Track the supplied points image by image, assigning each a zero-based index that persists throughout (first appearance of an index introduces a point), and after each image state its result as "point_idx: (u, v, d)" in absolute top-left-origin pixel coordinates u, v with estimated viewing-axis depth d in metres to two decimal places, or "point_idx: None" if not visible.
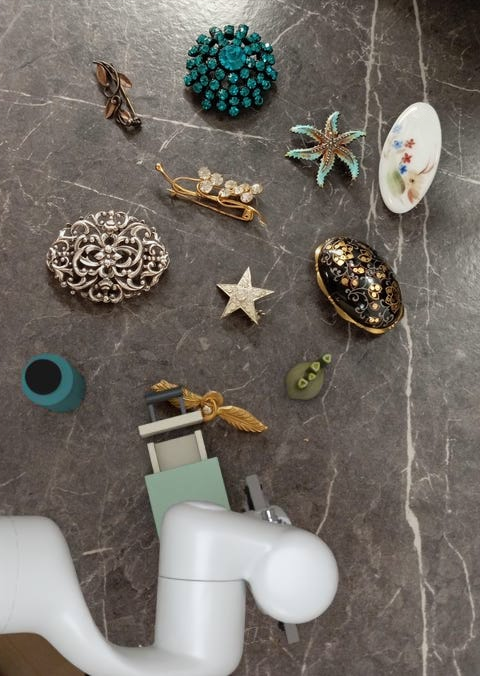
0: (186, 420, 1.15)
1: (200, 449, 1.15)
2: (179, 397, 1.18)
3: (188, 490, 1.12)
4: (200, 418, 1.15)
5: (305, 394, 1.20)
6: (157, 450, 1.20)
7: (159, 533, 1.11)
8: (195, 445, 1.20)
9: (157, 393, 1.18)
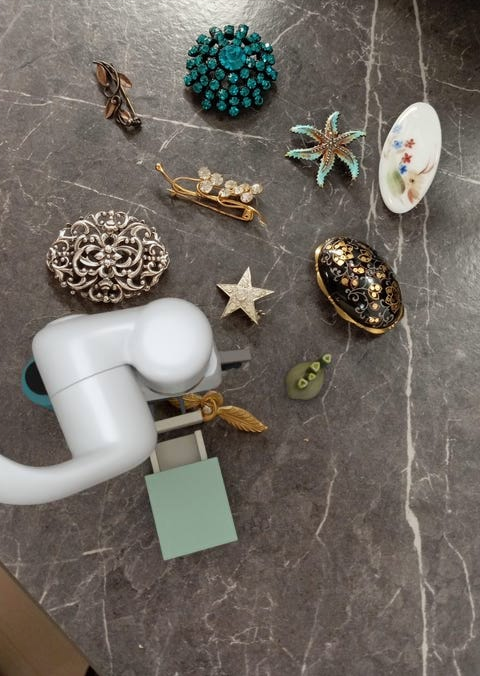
0: (186, 420, 1.15)
1: (200, 449, 1.15)
2: (179, 397, 1.18)
3: (188, 490, 1.12)
4: (200, 418, 1.15)
5: (305, 394, 1.20)
6: (157, 450, 1.20)
7: (159, 533, 1.11)
8: (195, 445, 1.20)
9: None
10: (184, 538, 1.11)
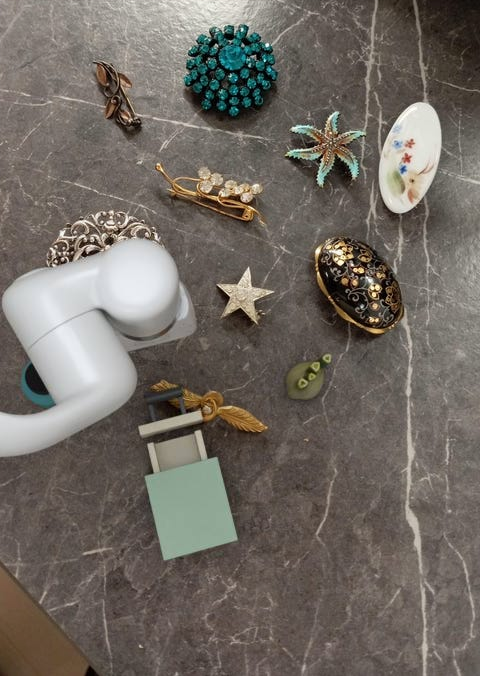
0: (186, 420, 1.15)
1: (200, 449, 1.15)
2: (179, 397, 1.18)
3: (188, 490, 1.12)
4: (200, 418, 1.15)
5: (305, 394, 1.20)
6: (157, 450, 1.20)
7: (159, 533, 1.11)
8: (195, 445, 1.20)
9: (157, 393, 1.18)
10: (184, 538, 1.11)
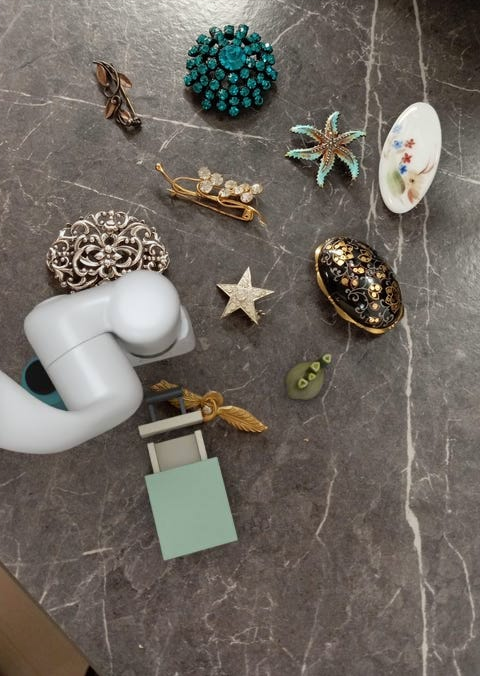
0: (186, 420, 1.15)
1: (200, 449, 1.15)
2: (179, 397, 1.18)
3: (188, 490, 1.12)
4: (200, 418, 1.15)
5: (305, 394, 1.20)
6: (157, 450, 1.20)
7: (159, 533, 1.11)
8: (195, 445, 1.20)
9: (157, 393, 1.18)
10: (184, 538, 1.11)
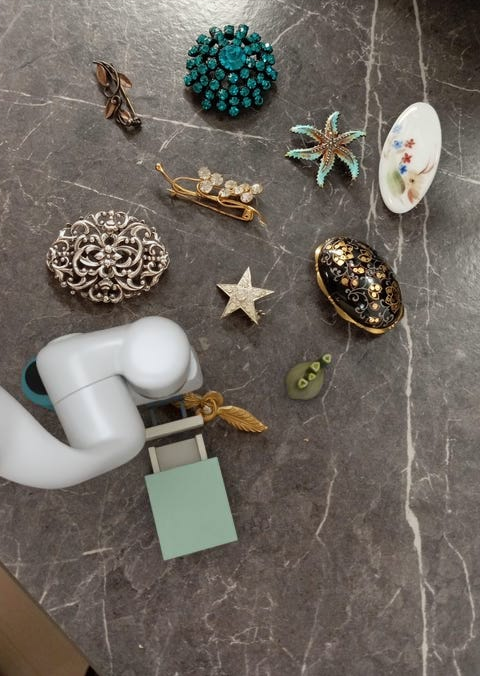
0: (187, 424, 1.15)
1: (201, 453, 1.15)
2: (180, 401, 1.18)
3: (188, 490, 1.12)
4: (201, 422, 1.15)
5: (305, 394, 1.20)
6: (158, 454, 1.20)
7: (159, 533, 1.11)
8: (196, 449, 1.20)
9: None
10: (184, 538, 1.11)
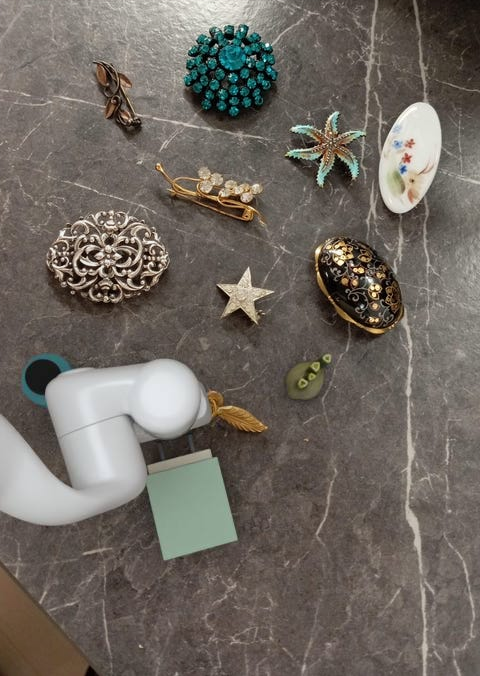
0: (195, 458, 1.14)
1: None
2: (188, 435, 1.17)
3: (188, 490, 1.12)
4: (210, 457, 1.14)
5: (305, 394, 1.20)
6: None
7: (159, 533, 1.11)
8: None
9: None
10: (184, 538, 1.11)
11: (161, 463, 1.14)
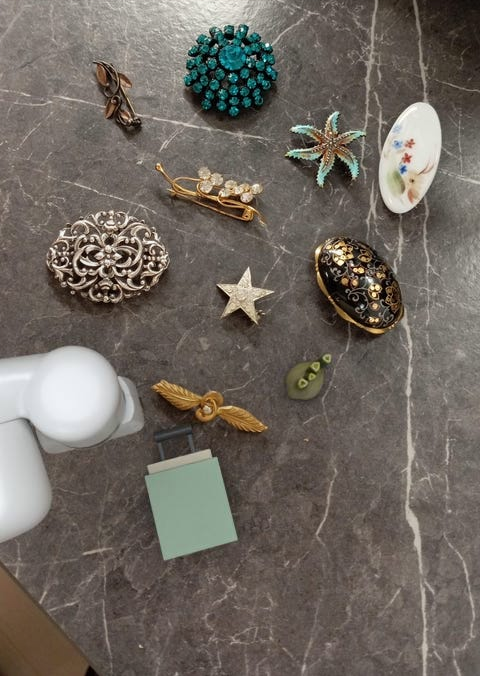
0: (195, 458, 1.14)
1: None
2: (188, 435, 1.17)
3: (188, 490, 1.12)
4: (210, 457, 1.14)
5: (305, 394, 1.20)
6: None
7: (159, 533, 1.11)
8: None
9: (166, 431, 1.17)
10: (184, 538, 1.11)
11: (161, 463, 1.14)
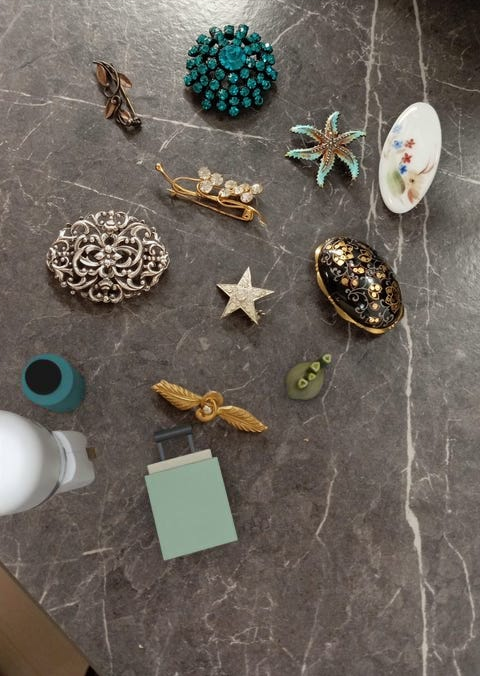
0: (195, 458, 1.14)
1: None
2: (188, 435, 1.17)
3: (188, 490, 1.12)
4: (210, 457, 1.14)
5: (305, 394, 1.20)
6: None
7: (159, 533, 1.11)
8: None
9: (166, 431, 1.17)
10: (184, 538, 1.11)
11: (161, 463, 1.14)
